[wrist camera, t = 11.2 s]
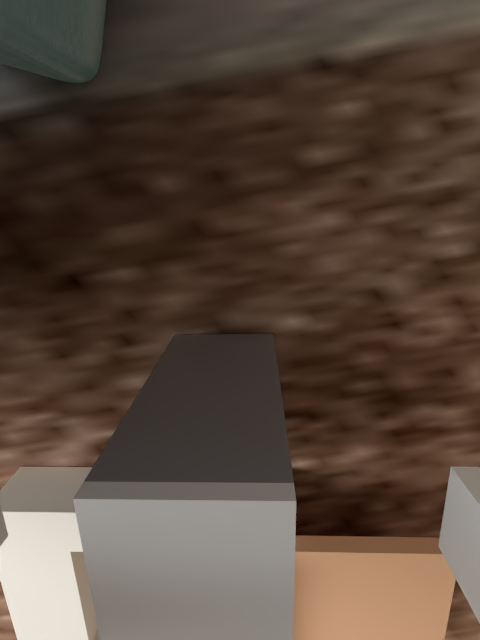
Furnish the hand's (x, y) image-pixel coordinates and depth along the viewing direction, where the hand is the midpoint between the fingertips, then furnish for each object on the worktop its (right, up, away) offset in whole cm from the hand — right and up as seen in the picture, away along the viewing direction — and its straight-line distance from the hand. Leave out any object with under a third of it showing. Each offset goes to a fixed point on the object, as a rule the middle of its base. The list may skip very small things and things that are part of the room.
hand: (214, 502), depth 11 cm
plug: (0, +2, +7) cm, 7 cm away
